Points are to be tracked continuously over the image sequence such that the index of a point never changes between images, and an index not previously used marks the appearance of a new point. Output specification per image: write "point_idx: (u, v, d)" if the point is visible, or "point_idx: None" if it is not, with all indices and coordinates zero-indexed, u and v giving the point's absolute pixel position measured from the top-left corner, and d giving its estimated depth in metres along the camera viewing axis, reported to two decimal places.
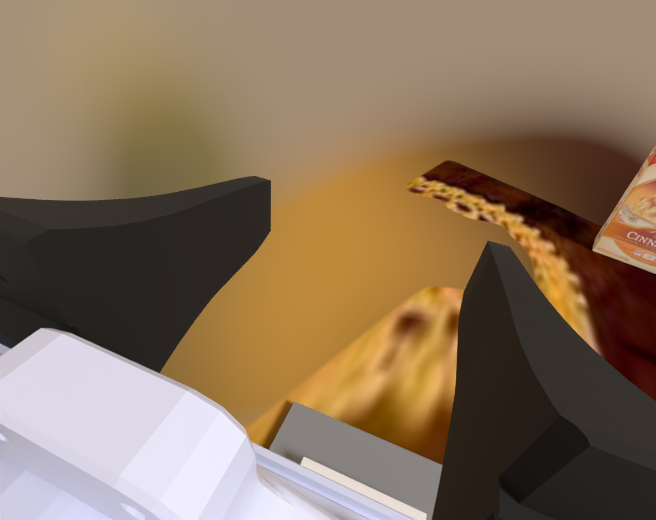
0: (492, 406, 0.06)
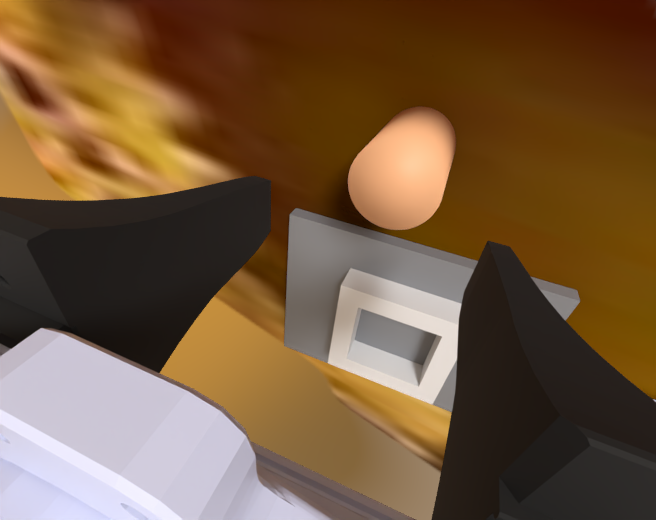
0: (492, 406, 0.06)
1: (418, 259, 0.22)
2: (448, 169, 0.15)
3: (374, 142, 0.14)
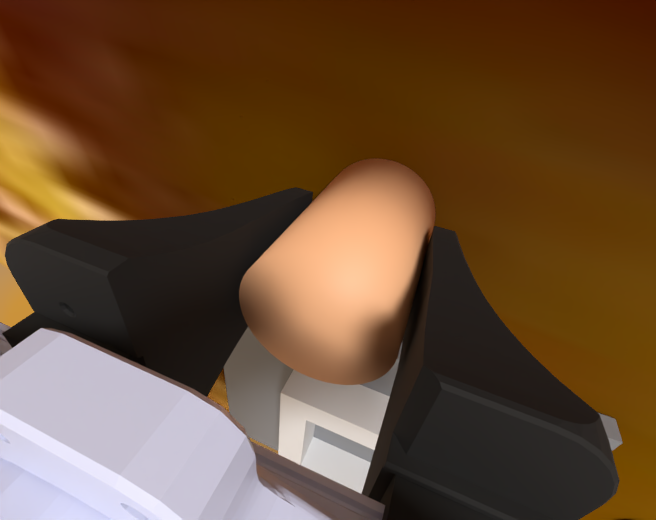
0: (405, 373, 0.06)
1: None
2: (415, 283, 0.09)
3: (271, 254, 0.07)
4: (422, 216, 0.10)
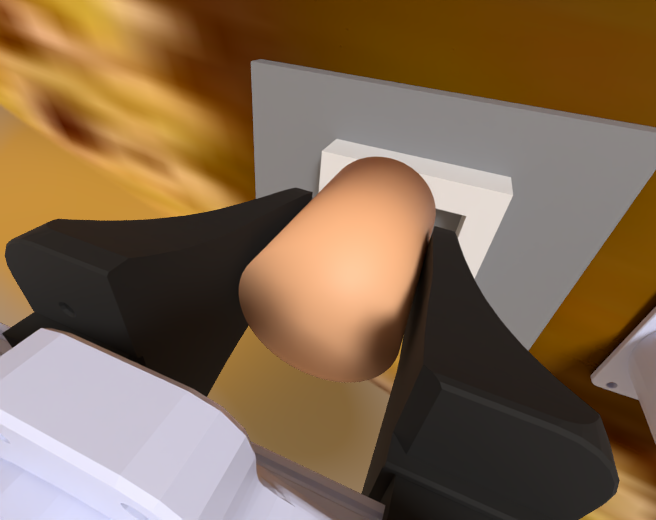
0: (405, 373, 0.06)
1: (431, 105, 0.15)
2: (416, 280, 0.09)
3: (271, 249, 0.07)
4: (422, 213, 0.10)
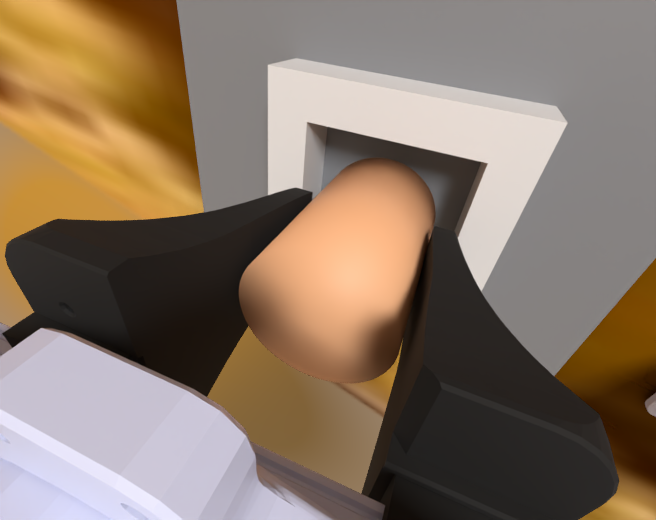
0: (405, 373, 0.06)
1: None
2: (415, 281, 0.09)
3: (271, 250, 0.07)
4: (422, 214, 0.10)
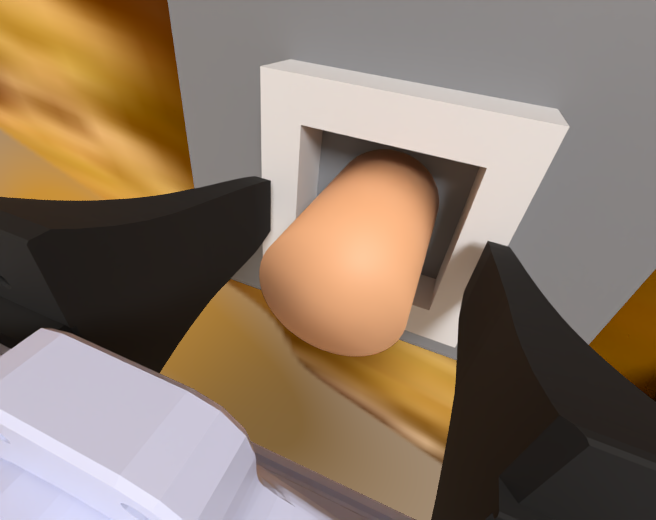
0: (492, 406, 0.06)
1: None
2: (421, 262, 0.10)
3: (291, 232, 0.08)
4: (427, 202, 0.11)
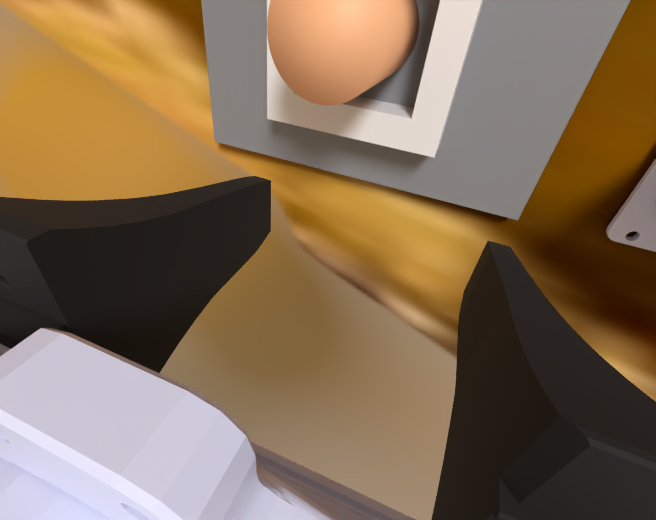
0: (492, 406, 0.06)
1: None
2: (400, 21, 0.12)
3: None
4: None
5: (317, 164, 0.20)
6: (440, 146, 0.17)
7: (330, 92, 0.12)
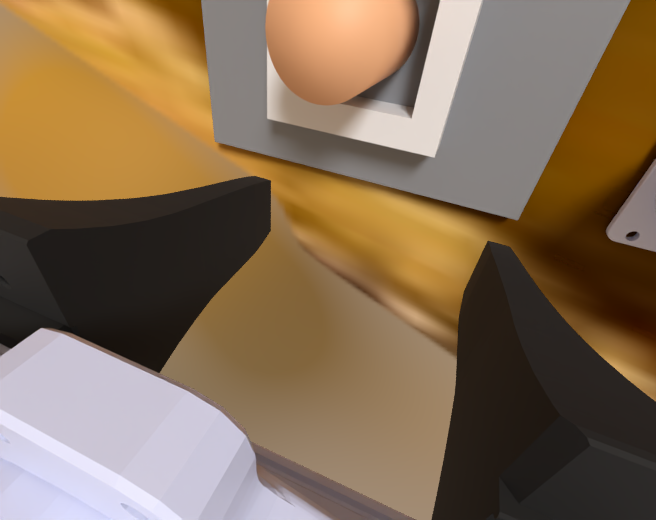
0: (492, 406, 0.06)
1: None
2: (399, 21, 0.12)
3: None
4: None
5: (317, 164, 0.20)
6: (440, 146, 0.17)
7: (328, 92, 0.12)
